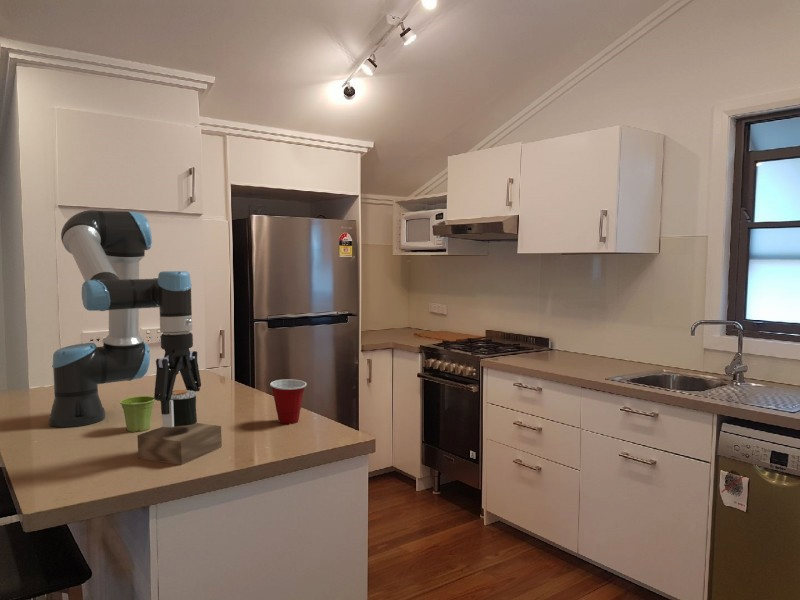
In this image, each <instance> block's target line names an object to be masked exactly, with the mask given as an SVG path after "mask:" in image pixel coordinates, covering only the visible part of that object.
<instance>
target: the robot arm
mask: <svg viewBox="0 0 800 600" xmlns="http://www.w3.org/2000/svg"><path fill="white" fill-rule="evenodd" d="M151 230H152V229H151V226H150V223H149V221H148V219H147V217H146V216H145V214H143V213H141V212H136V211H127V210H123V211H122V210H97V209H96V210H95V209H89V210H83V211H80V212H78V213H76V214H73V216H71V217H70V218H68V220H67V221H66V222H65V223H64V225H63V227H62V229H61V232H60V240H61V243H62V246H63V247H64V249H65V250H66V251H67V252H68V253H69V254H71V255H72V257H73V258H74V261H75V264H76V265H77V268H78V269H79V272H80V275H81V276H82V278H83V280H84V281H83V284H81V285H82V286H81V301H82V305H83V308H85V310H87V311H91V312H93V311H96V312H98V311H99V312H105V311H108V335H107V336H106V337H105V338H104V339H103V341H102V342H103V344H102V346H97V344H96V343H95V342H86V343H78V344H72V345H67V346H64V347H61V348H59V349H57V350H56V351H54V353H53V354H52V356H53V357H52V369H53V370H52V371H53V388H54V389H53V390H54V393H53V394H54V400H53V404H52V407H51V410H50V411H51V413H50V414H49V415H48V423H49V426H51V427H54V428H55V427H56V428H70V427H71V428H72V427H80V426H86V425H91V424H95V423H98V422H101V421H103V420H104V419H105V418H106V410H105V408H104V407H103V403H102V401H101V399H100V396H99V388H98V387H99V385H102V384H111V383H117V382H118V383H119V382H126V381H127V382H130V381H131V382H132V381H134V380H139V379H141V378H144V376H146V375H147V373H148V371H149V368H150V362H151V354H150V347H149V345H148V343H146V342H144V338H143V337H142V336H141V335H140V334H139V329H140V328H139V326H140V323H139V319H140V317H139V316H140V311H139V309H152V308H153V309H155V308H159V309H158V310H159V331H160V333H162V334H161V335H160V348H161V349H162V350H164V356H163V357H162V358H156V360H155V364H156V365H155V366H156V373H155V374H156V375H155V383H154V384H155V385H154V396H153V397H154V399H155V401H158V402H160V412H161V420H162V421H161V422H162V423H161V425H162V427H174V410H173V400H171V396H172V391H174V386H175V382H176V379H177V375H178V374H179V373H180V375H181V378H182V381H183V383H184V387H185V389H186V390H188V391H189V390H190V391H194V392H196V393H197V392H200V390H201V386H202V382H201V381H202V380H201V376H200V370H199V364H198V363H199V362H198V351H194V350H190V349H191V348H193V347H194V344H193V343H194V338H193V337H194V335H193V332H192V331H193V321H192V318H193V317H192V316H193V314H192V310H193V309H192V282H191V274H190V272H189V271H187V270H186V271H185V270H181V271H180V270H177V271H176V270H174V271H170V270H169V271H163V270H162V271H159V273H158V274H157V275H158V277H157V278H156V277H155V278H140V261H141V260H142V259H144V257H146V256H145V251H148V250H150V249H151V247H152V244H153V236H152V231H151ZM166 395H167V396H166Z"/></svg>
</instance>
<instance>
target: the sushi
mask: <svg viewBox="0 0 800 600" xmlns="http://www.w3.org/2000/svg"><path fill="white" fill-rule="evenodd" d="M166 396H167V395H166ZM171 400H173V410H174V427H176V426H187V425H192V424H195V423H198V417H197V391H196V392H194V391H190V390H189V391H188V390H187V389H186V388H185V389H177V390H173V391H172V396H171Z"/></svg>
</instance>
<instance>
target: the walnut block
mask: <svg viewBox="0 0 800 600" xmlns="http://www.w3.org/2000/svg"><path fill="white" fill-rule="evenodd" d="M222 442H223V441H222V425H217V424H216V425H215V424H207V423H199V422H196V423H195V424H192V425H187V426H176V427H163V426H161V427H158V428H155V429H152V430H149V431H146V432H142V433H141V434H137V453H138V454H137V455H138V456H137V457H138V459H142V458H143V460H150V461H155V462H161V463H166V464H167V463H168V464H175V465H180V466H182V465H185V464H187V463H189V462H190V463H191V462H192V461H194V460H196V459H199V458H202V457H203V456H206V455H208V454H210V453H213V452H214V451H217V450H219V448H220V449H222V448H223V447H222V445H223V444H222ZM221 447H222V448H221Z"/></svg>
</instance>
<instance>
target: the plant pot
mask: <svg viewBox="0 0 800 600" xmlns="http://www.w3.org/2000/svg"><path fill="white" fill-rule="evenodd" d="M155 401H156V400H155V399H154V396H151V395H139V396H131V397H126V398H124V399H121V400H120V401H119V404H121V408H122V410H123V415H124V419H125V425H126V430H127V432H130V433H131V432H133V433H135V432H138V431H140V432H144V431H147V430H149V429H150V428H151V423H152V422H151V421H152V414H153V406H154V402H155Z"/></svg>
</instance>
